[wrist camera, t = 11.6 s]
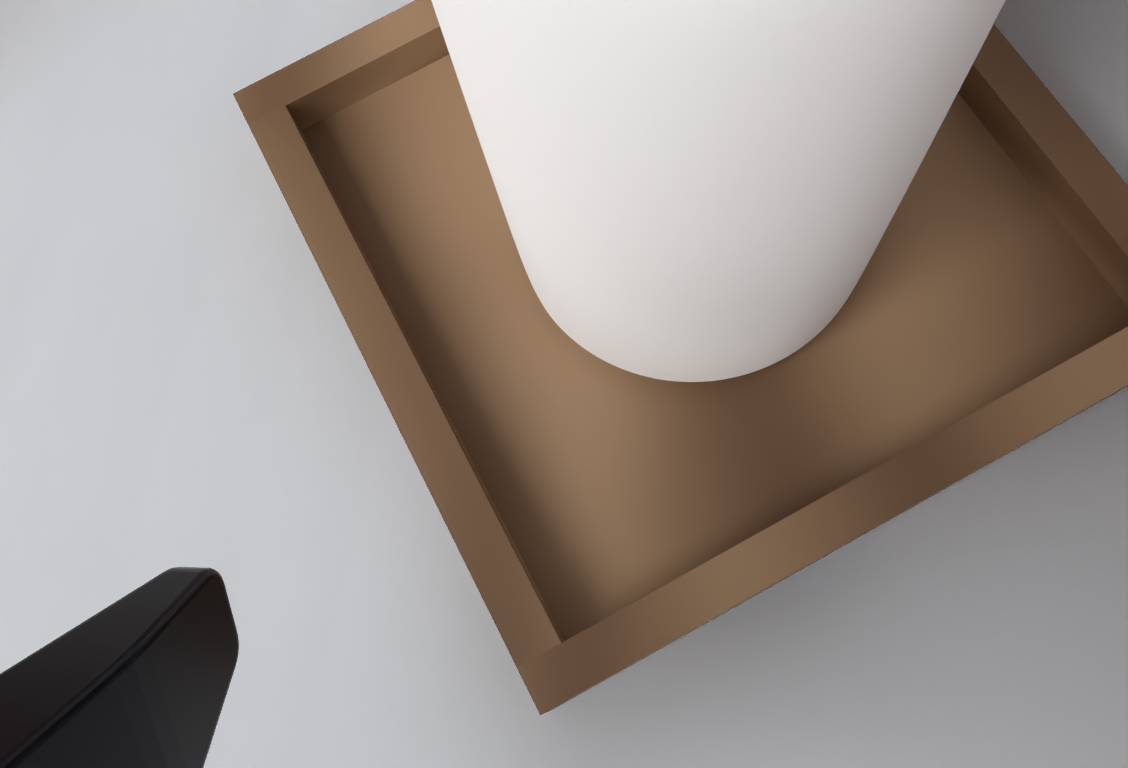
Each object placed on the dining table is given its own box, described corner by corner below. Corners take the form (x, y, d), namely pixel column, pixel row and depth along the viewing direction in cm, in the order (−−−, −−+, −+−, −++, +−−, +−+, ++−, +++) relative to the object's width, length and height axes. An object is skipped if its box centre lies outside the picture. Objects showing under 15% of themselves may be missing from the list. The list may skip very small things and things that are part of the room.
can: (494, 114, 19) (245, -721, 8) (815, 45, 19) (1060, -926, 7) (551, 423, 17) (334, -68, 6) (909, 351, 17) (1440, -316, 5)
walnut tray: (550, 710, 16) (540, 714, 15) (263, 134, 20) (232, 93, 19) (1190, 350, 17) (1239, 321, 16) (797, -141, 21) (807, -201, 19)
